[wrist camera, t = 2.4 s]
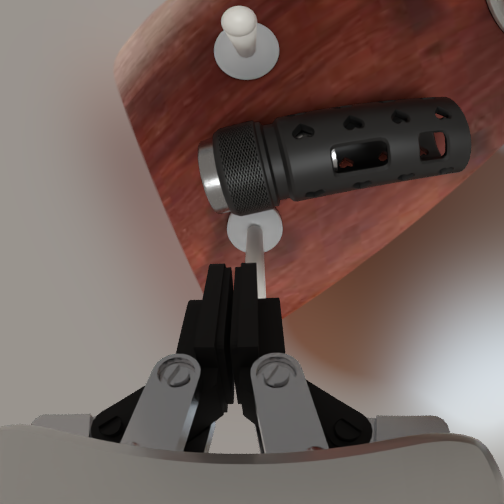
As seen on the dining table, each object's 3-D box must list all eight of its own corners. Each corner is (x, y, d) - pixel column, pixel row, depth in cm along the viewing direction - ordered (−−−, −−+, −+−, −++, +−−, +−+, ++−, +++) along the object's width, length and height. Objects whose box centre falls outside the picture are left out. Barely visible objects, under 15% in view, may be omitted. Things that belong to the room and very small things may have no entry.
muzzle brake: (430, 159, 36) (473, 186, 27) (226, 198, 39) (217, 237, 31) (423, 90, 31) (470, 99, 22) (205, 127, 35) (187, 144, 26)
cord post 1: (276, 23, 28) (300, -35, 11) (279, 78, 31) (306, 75, 15) (214, 26, 28) (171, -27, 11) (217, 81, 32) (177, 82, 15)
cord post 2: (281, 198, 39) (301, 299, 22) (281, 246, 43) (296, 360, 26) (226, 200, 39) (204, 301, 23) (230, 248, 43) (216, 362, 26)
